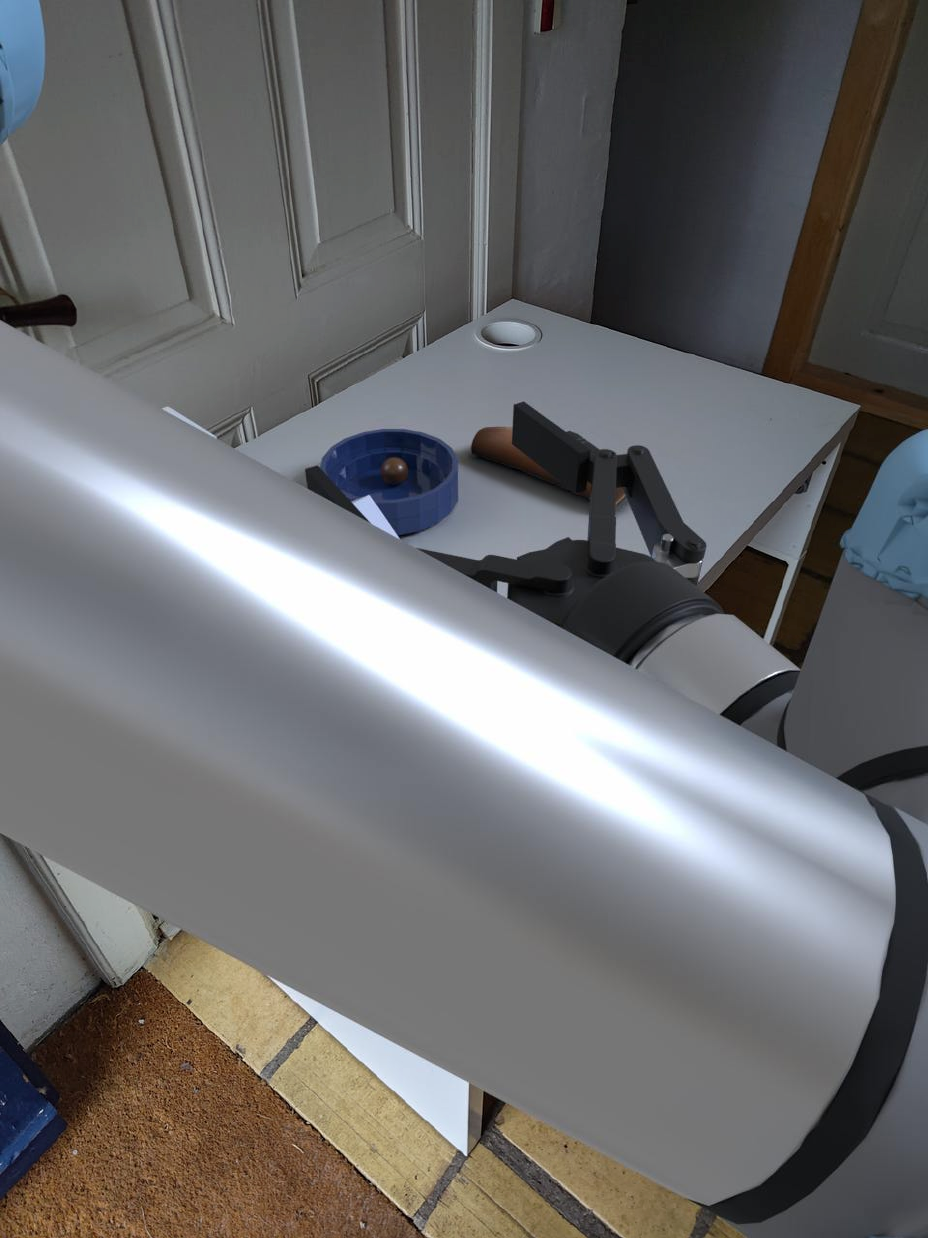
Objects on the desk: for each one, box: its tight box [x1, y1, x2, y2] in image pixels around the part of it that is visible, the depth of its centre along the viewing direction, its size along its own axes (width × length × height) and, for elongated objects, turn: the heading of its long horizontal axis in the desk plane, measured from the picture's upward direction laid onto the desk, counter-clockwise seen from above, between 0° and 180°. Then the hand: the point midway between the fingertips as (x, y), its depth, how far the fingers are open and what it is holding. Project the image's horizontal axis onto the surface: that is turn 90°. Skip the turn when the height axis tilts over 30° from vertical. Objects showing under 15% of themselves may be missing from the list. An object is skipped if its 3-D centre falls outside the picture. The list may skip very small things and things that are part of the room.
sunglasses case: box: [470, 426, 627, 508], centre depth 95 cm, size 18×7×7 cm
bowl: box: [319, 428, 459, 536], centre depth 91 cm, size 14×14×4 cm
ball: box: [380, 457, 408, 485], centre depth 93 cm, size 3×3×3 cm
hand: (420, 453), depth 50 cm, fingers open, 13 cm apart
